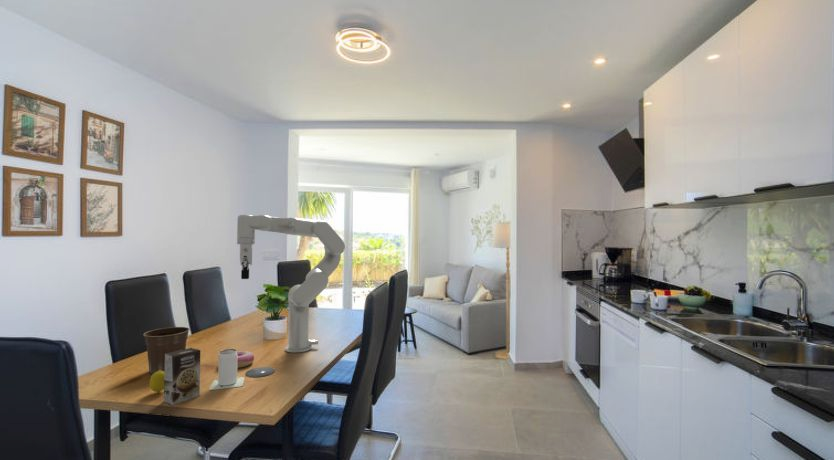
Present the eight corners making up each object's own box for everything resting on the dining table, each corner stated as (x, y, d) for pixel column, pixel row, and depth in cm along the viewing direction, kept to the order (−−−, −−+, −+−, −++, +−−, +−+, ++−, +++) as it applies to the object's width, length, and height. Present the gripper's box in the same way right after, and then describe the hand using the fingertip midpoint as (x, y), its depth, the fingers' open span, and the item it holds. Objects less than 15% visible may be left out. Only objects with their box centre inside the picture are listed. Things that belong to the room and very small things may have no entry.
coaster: (274, 366, 167) (274, 365, 167) (274, 375, 157) (274, 374, 157) (246, 369, 163) (246, 368, 163) (244, 378, 153) (244, 377, 153)
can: (240, 380, 151) (240, 348, 151) (230, 386, 144) (231, 353, 144) (224, 379, 151) (225, 348, 152) (214, 385, 145) (214, 353, 145)
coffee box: (172, 405, 129) (173, 356, 129) (163, 401, 132) (163, 353, 132) (200, 396, 136) (201, 349, 137) (190, 392, 140) (191, 346, 140)
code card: (244, 377, 154) (244, 376, 154) (242, 386, 145) (242, 386, 145) (213, 380, 151) (213, 379, 151) (209, 390, 141) (209, 389, 141)
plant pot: (133, 374, 157) (133, 333, 158) (170, 361, 173) (171, 325, 173) (161, 379, 152) (162, 337, 152) (198, 366, 167) (198, 328, 167)
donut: (260, 362, 173) (260, 350, 173) (238, 372, 161) (238, 360, 161) (235, 359, 177) (236, 348, 178) (212, 368, 165) (212, 356, 165)
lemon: (155, 390, 141) (155, 367, 141) (171, 389, 142) (171, 367, 142) (145, 396, 136) (146, 373, 136) (162, 395, 136) (162, 372, 136)
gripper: (254, 241, 176) (254, 279, 176) (254, 240, 192) (253, 275, 192) (236, 241, 173) (235, 280, 173) (237, 240, 189) (237, 276, 189)
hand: (245, 277), depth 183 cm, fingers open, 9 cm apart
